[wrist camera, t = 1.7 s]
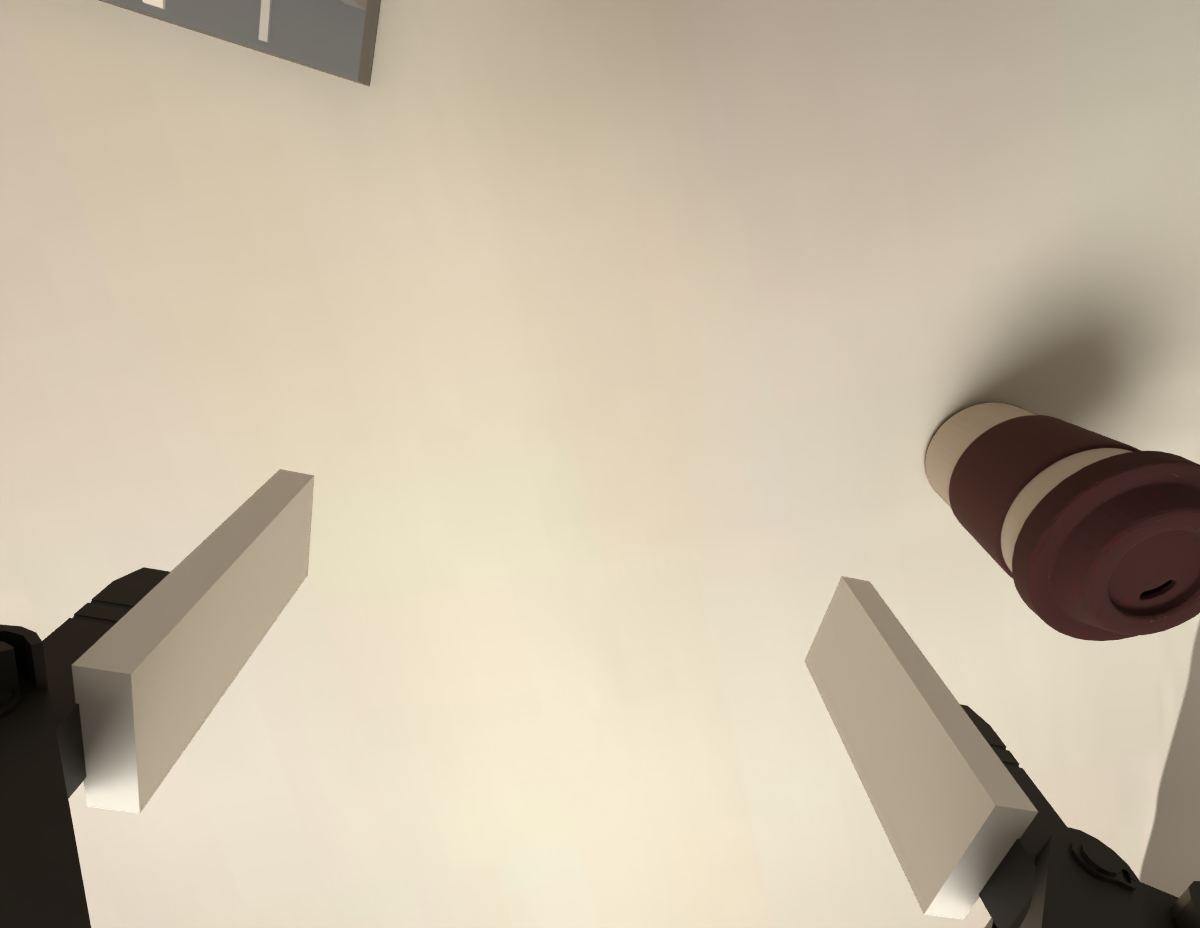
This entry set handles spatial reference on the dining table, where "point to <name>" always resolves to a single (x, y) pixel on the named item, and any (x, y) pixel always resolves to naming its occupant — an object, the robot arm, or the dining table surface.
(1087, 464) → the coffee cup
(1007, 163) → the dining table surface
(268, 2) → the grey slider track
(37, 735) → the robot arm
